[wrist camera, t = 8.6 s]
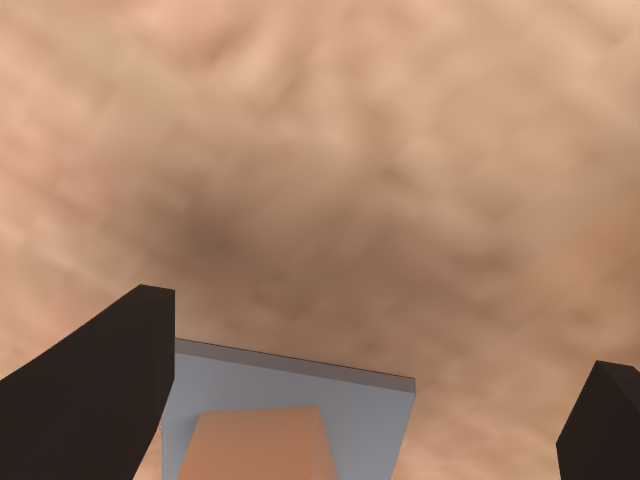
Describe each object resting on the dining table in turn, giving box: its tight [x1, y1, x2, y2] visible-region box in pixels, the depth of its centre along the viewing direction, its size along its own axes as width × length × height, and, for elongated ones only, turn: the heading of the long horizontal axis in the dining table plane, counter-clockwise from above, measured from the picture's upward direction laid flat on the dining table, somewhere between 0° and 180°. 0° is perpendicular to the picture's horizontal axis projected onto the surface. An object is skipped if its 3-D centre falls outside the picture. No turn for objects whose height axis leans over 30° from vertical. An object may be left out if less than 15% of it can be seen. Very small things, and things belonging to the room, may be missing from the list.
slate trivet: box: [161, 339, 416, 480], centre depth 25 cm, size 10×10×1 cm
